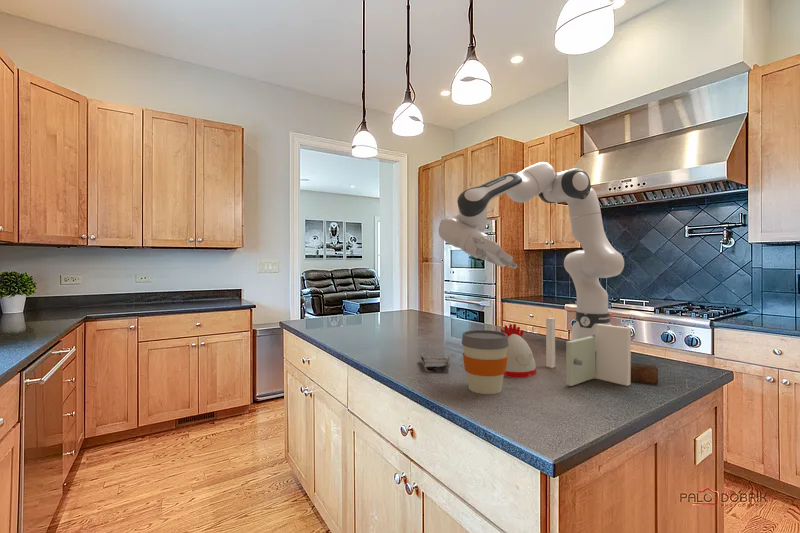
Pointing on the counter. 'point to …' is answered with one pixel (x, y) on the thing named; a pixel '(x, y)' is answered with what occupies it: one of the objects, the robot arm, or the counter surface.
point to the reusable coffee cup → (485, 360)
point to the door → (580, 360)
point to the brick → (644, 373)
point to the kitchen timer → (518, 354)
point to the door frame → (602, 352)
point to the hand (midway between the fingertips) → (514, 263)
